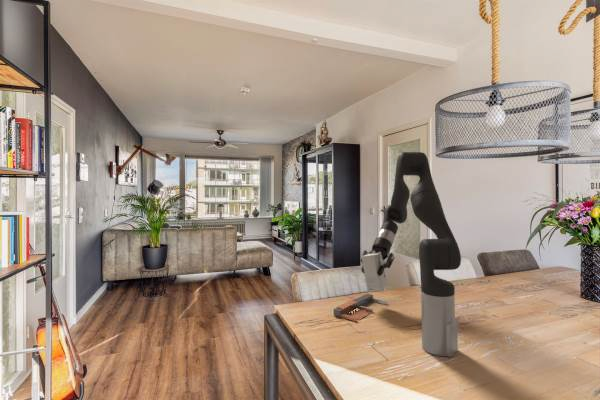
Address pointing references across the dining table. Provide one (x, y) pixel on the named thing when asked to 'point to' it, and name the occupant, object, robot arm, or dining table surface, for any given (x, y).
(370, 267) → the skincare box
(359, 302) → the rail
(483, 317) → the dining table surface
